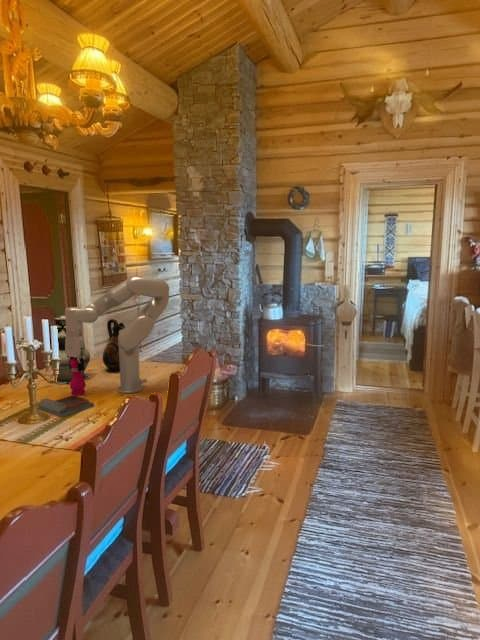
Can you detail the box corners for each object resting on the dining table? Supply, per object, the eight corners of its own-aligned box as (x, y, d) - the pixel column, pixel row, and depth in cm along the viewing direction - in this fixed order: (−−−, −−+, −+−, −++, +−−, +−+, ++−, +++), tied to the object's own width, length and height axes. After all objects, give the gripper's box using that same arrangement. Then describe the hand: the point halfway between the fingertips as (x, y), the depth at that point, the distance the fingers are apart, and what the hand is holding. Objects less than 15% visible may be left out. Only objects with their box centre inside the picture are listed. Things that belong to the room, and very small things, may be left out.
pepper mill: (81, 396, 216) (78, 356, 213) (67, 395, 218) (64, 355, 215) (89, 392, 223) (86, 352, 220) (75, 391, 225) (73, 352, 222)
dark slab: (69, 399, 213) (69, 389, 212) (93, 406, 203) (93, 396, 202) (38, 408, 200) (37, 399, 200) (62, 417, 190) (61, 407, 189)
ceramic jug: (135, 369, 266) (134, 319, 262) (116, 375, 253) (113, 322, 249) (115, 365, 275) (113, 316, 270) (95, 370, 262) (92, 320, 258)
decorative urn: (67, 387, 233) (63, 321, 226) (41, 380, 244) (37, 316, 237) (99, 377, 250) (96, 315, 244) (74, 370, 261) (70, 311, 255)
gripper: (57, 332, 218) (59, 368, 220) (79, 336, 208) (81, 374, 211) (70, 330, 224) (72, 365, 227) (92, 333, 214) (94, 370, 217)
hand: (76, 369), depth 219 cm, fingers closed on pepper mill, 6 cm apart
